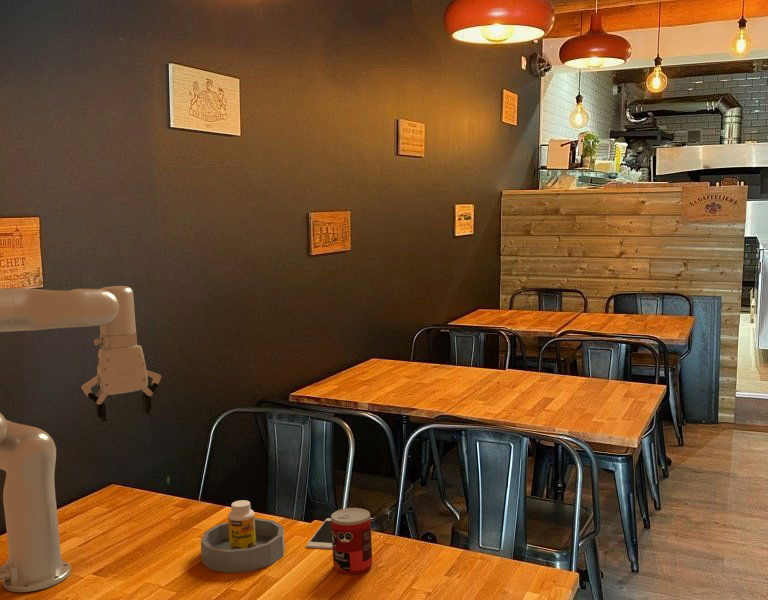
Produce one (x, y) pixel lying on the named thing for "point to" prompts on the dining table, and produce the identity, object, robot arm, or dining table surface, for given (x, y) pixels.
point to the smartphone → (322, 537)
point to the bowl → (246, 559)
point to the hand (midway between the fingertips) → (125, 416)
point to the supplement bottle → (241, 525)
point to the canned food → (351, 541)
